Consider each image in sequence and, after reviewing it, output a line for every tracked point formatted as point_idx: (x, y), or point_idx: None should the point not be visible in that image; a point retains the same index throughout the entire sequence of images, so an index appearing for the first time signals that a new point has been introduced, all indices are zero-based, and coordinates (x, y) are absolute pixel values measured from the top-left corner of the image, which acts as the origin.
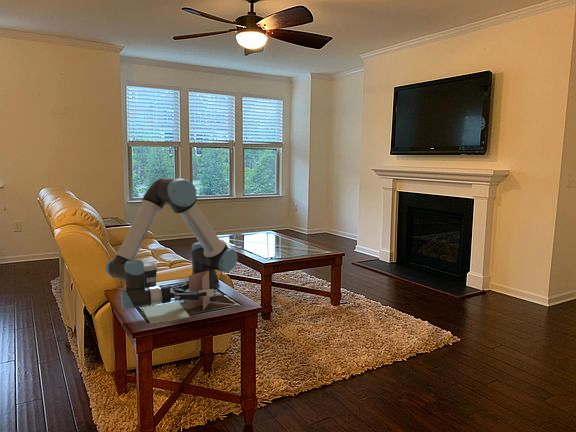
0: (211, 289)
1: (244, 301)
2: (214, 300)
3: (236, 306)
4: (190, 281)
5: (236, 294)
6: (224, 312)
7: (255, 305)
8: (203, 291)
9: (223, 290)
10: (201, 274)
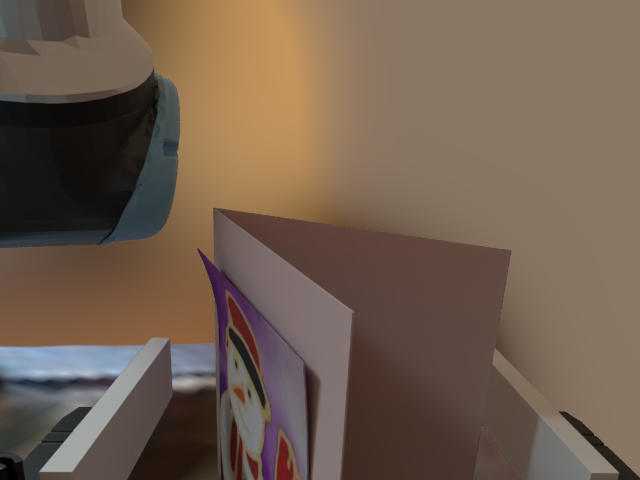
0: (498, 355)
1: None
2: (208, 454)
3: None
4: (322, 426)
5: (202, 347)
6: (495, 467)
7: None
8: (561, 424)
9: (78, 368)
10: (240, 255)
